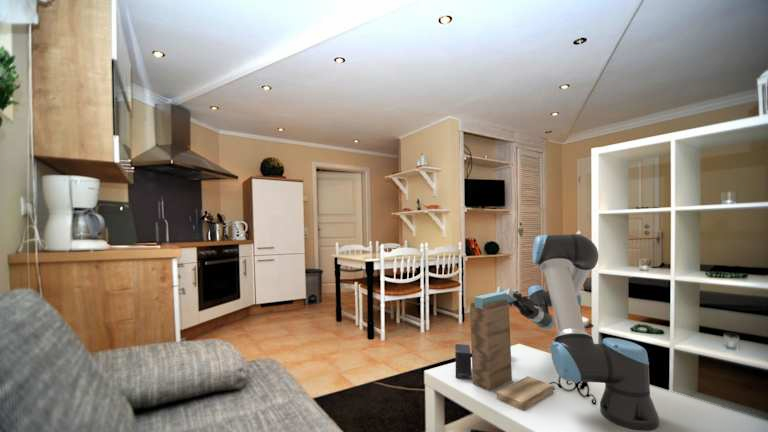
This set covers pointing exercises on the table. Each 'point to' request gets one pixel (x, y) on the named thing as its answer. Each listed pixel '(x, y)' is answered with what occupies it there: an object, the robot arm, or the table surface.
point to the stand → (491, 345)
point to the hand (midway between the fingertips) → (503, 290)
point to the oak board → (524, 392)
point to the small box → (463, 361)
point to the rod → (492, 298)
